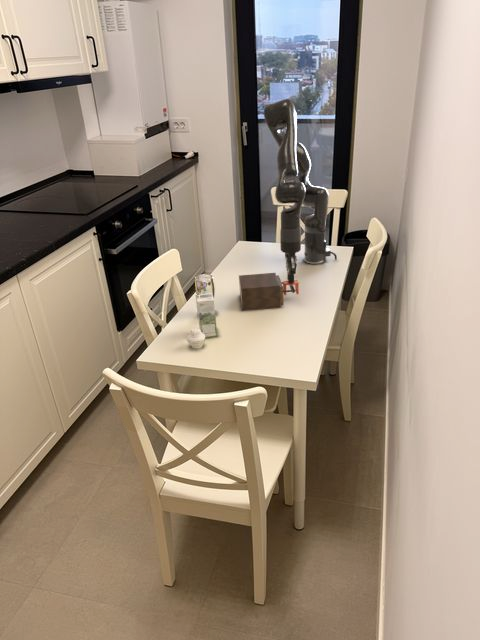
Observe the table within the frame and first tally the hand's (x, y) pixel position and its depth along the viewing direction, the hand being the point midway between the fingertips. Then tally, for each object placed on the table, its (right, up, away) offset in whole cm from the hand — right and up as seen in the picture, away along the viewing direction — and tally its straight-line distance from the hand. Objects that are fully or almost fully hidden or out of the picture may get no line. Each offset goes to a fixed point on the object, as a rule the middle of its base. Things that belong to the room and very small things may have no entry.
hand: (290, 281), depth 192 cm
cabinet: (-12, -8, +3) cm, 15 cm away
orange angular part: (0, -4, +3) cm, 5 cm away
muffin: (-33, -26, -24) cm, 48 cm away
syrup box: (-30, -21, -17) cm, 40 cm away
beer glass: (-32, -13, -4) cm, 35 cm away
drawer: (-8, -6, +3) cm, 11 cm away
